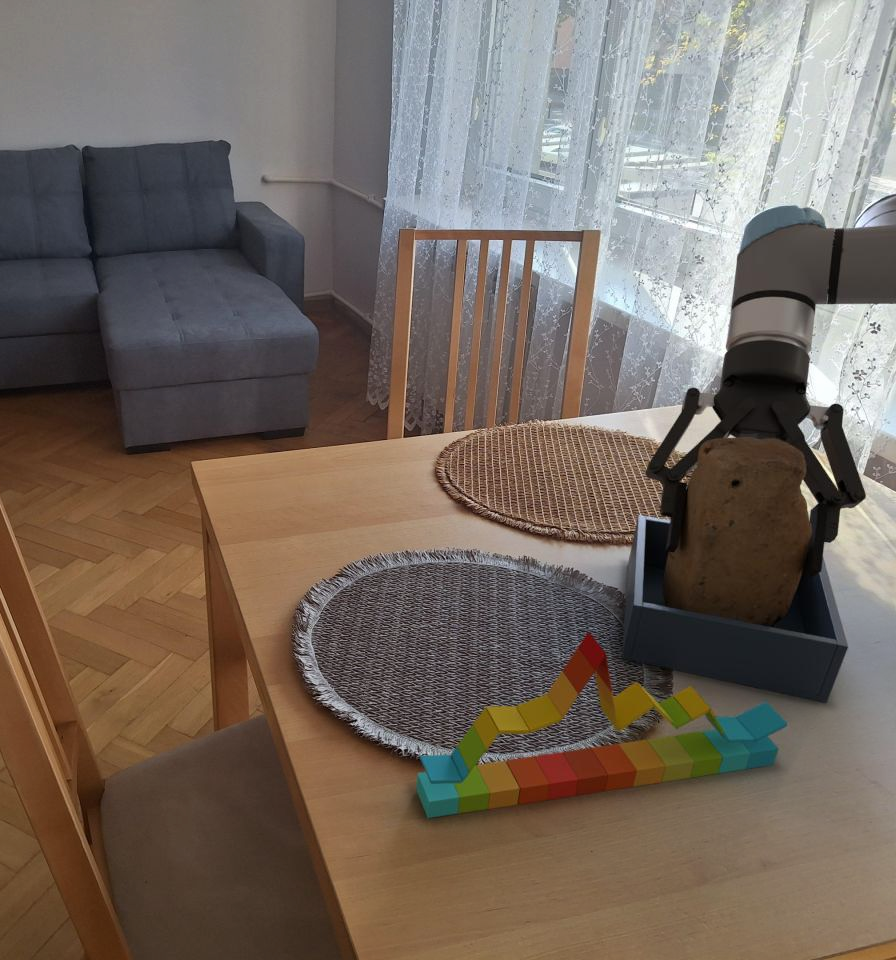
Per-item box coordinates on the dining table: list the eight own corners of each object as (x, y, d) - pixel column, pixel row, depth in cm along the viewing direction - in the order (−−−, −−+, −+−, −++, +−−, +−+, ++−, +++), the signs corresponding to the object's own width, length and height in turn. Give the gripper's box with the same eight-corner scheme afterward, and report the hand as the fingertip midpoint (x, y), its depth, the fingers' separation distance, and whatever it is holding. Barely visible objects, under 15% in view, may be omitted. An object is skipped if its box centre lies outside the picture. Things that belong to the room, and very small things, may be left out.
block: (671, 639, 86) (716, 464, 76) (652, 595, 93) (691, 428, 83) (787, 647, 85) (848, 469, 75) (760, 601, 91) (813, 432, 81)
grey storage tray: (802, 595, 93) (819, 543, 90) (827, 703, 79) (848, 647, 75) (627, 563, 99) (638, 514, 96) (621, 658, 85) (633, 604, 82)
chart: (748, 737, 75) (794, 599, 68) (772, 764, 73) (823, 624, 65) (415, 787, 72) (426, 647, 65) (427, 818, 69) (440, 676, 62)
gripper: (890, 382, 86) (871, 593, 81) (636, 356, 94) (605, 546, 89) (921, 349, 79) (902, 578, 74) (644, 325, 88) (611, 528, 83)
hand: (740, 561), depth 82 cm, fingers closed on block, 11 cm apart
